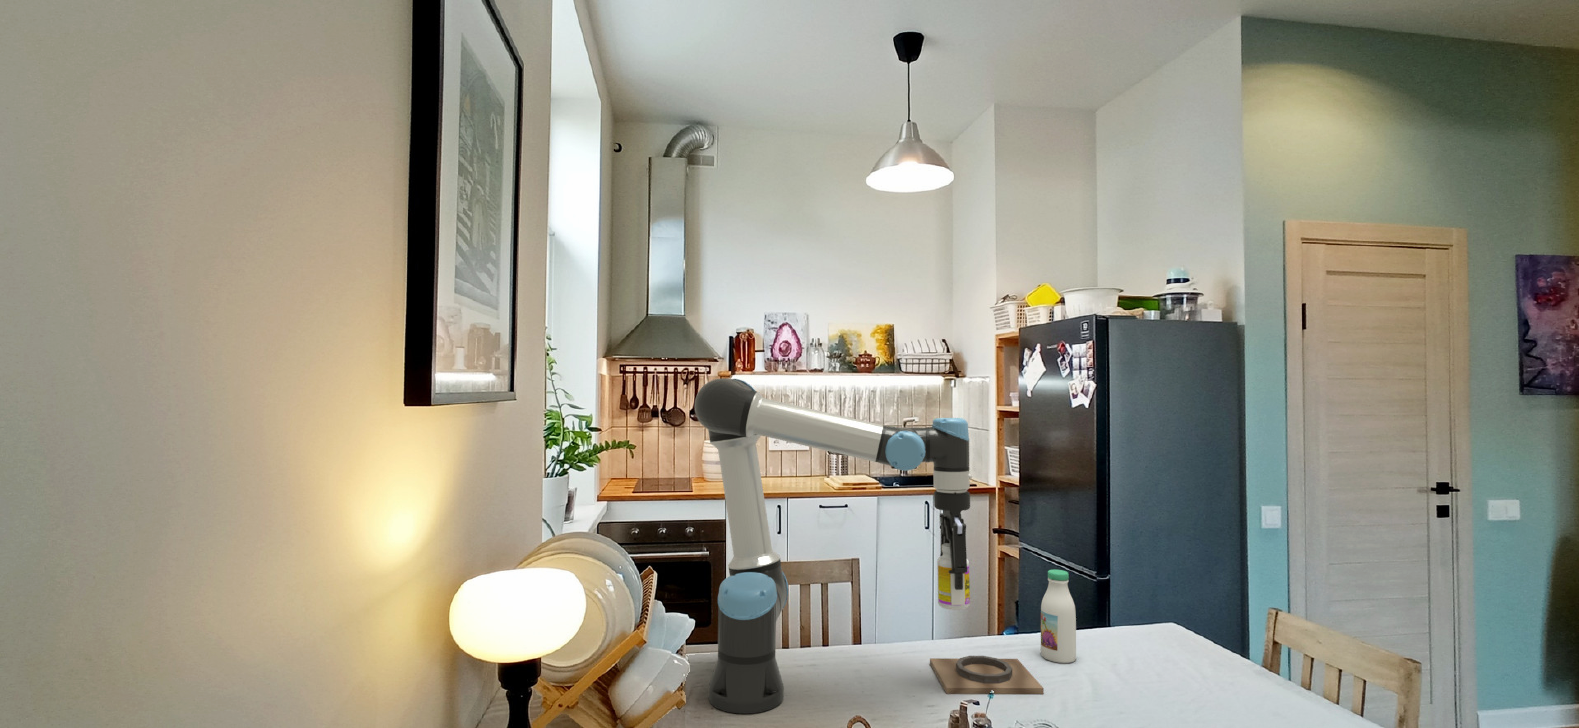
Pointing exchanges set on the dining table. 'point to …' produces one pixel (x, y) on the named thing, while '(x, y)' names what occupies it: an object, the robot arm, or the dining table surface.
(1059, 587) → the milk bottle
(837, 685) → the dining table surface
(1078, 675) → the dining table surface
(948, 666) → the socket board
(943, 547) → the supplement bottle
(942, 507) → the robot arm
